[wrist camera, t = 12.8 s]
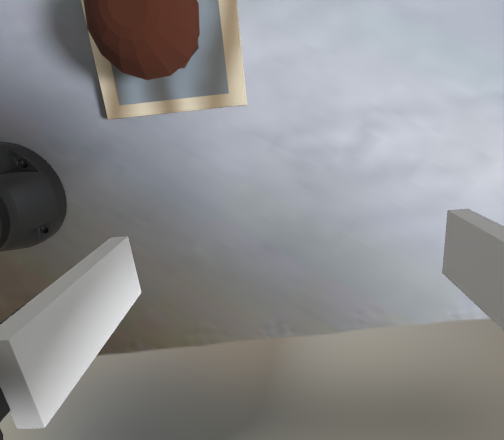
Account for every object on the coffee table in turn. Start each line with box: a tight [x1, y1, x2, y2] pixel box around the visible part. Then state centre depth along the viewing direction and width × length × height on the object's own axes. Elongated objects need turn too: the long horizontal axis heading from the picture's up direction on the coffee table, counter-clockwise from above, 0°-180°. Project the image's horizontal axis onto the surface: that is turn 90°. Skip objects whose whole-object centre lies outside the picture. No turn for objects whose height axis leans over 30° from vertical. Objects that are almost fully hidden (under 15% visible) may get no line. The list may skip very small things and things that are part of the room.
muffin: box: [84, 0, 200, 80], centre depth 33 cm, size 12×11×10 cm
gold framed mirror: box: [81, 0, 247, 119], centre depth 39 cm, size 18×18×2 cm
